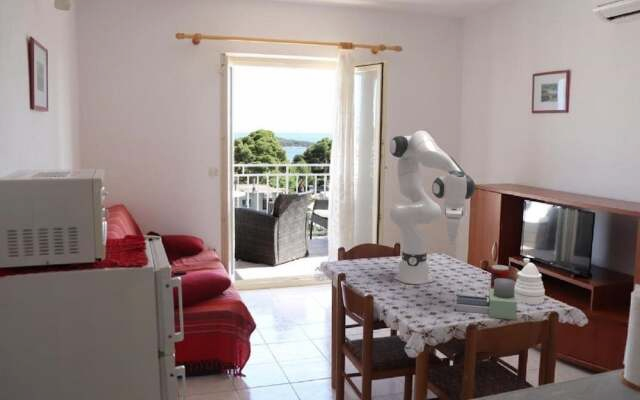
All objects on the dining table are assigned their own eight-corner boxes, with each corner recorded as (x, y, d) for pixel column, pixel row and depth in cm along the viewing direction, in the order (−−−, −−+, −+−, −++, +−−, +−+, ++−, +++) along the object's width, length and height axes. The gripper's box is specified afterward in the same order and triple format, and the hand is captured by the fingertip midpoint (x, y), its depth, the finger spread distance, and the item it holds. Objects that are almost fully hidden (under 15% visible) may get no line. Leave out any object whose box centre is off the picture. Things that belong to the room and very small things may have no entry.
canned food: (507, 288, 261) (508, 265, 260) (508, 293, 254) (509, 269, 252) (490, 286, 263) (491, 264, 262) (490, 291, 256) (491, 268, 254)
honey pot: (507, 299, 244) (509, 259, 242) (521, 293, 253) (523, 255, 251) (536, 306, 235) (538, 265, 233) (549, 300, 244) (551, 260, 242)
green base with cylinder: (457, 301, 241) (458, 272, 239) (513, 306, 234) (514, 276, 233) (455, 313, 224) (457, 282, 223) (515, 319, 218) (517, 287, 216)
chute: (456, 306, 235) (457, 294, 234) (486, 308, 232) (486, 297, 231) (456, 309, 230) (456, 298, 229) (486, 312, 227) (487, 300, 226)
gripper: (448, 205, 244) (446, 235, 246) (445, 213, 225) (443, 246, 227) (462, 206, 242) (460, 237, 245) (461, 214, 223) (459, 248, 225)
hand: (452, 241), depth 236 cm, fingers open, 8 cm apart
